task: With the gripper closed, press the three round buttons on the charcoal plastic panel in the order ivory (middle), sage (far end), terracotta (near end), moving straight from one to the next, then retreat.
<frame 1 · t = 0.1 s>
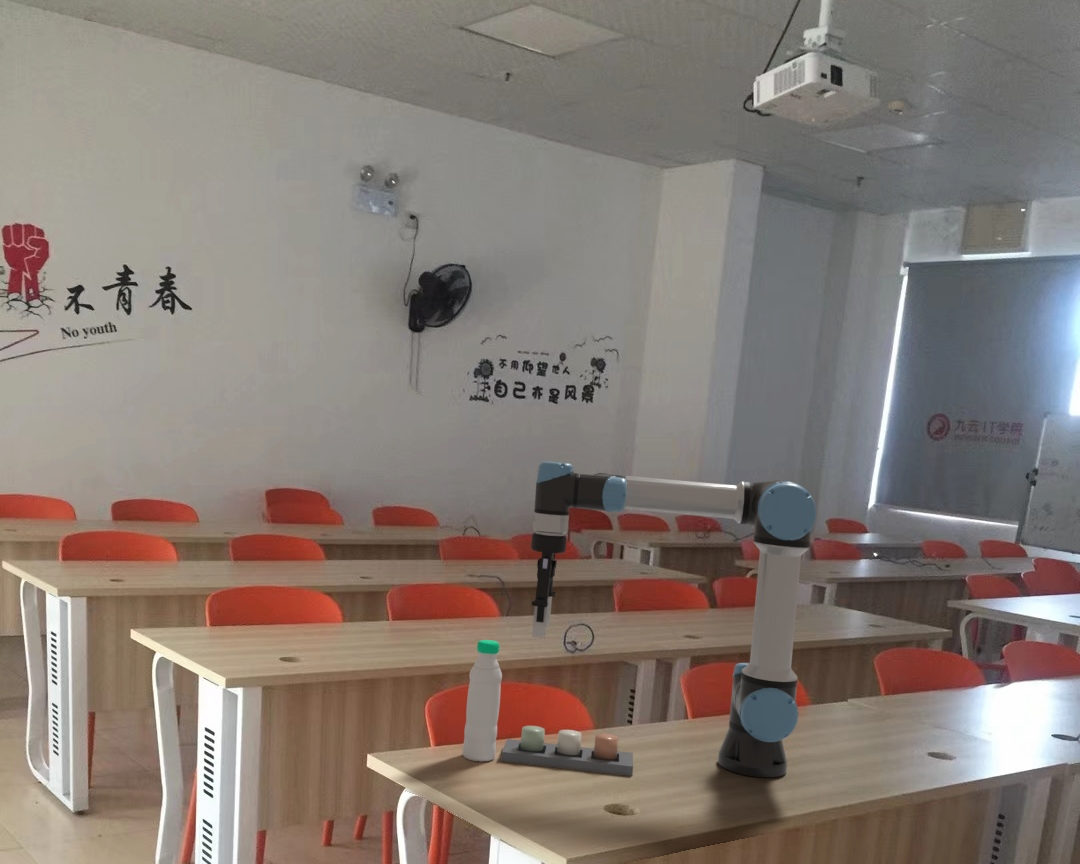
hand: (541, 631, 229), 28 cm above the table, fingers open, 13 cm apart
button ivory: (569, 742, 230), point 4 cm above the table, slide at 0.0 cm
button terracotta: (606, 746, 229), point 4 cm above the table, slide at 0.0 cm
button sage: (532, 738, 231), point 4 cm above the table, slide at 0.0 cm
panel: (567, 761, 230), on the table
water bottle: (478, 758, 227), on the table
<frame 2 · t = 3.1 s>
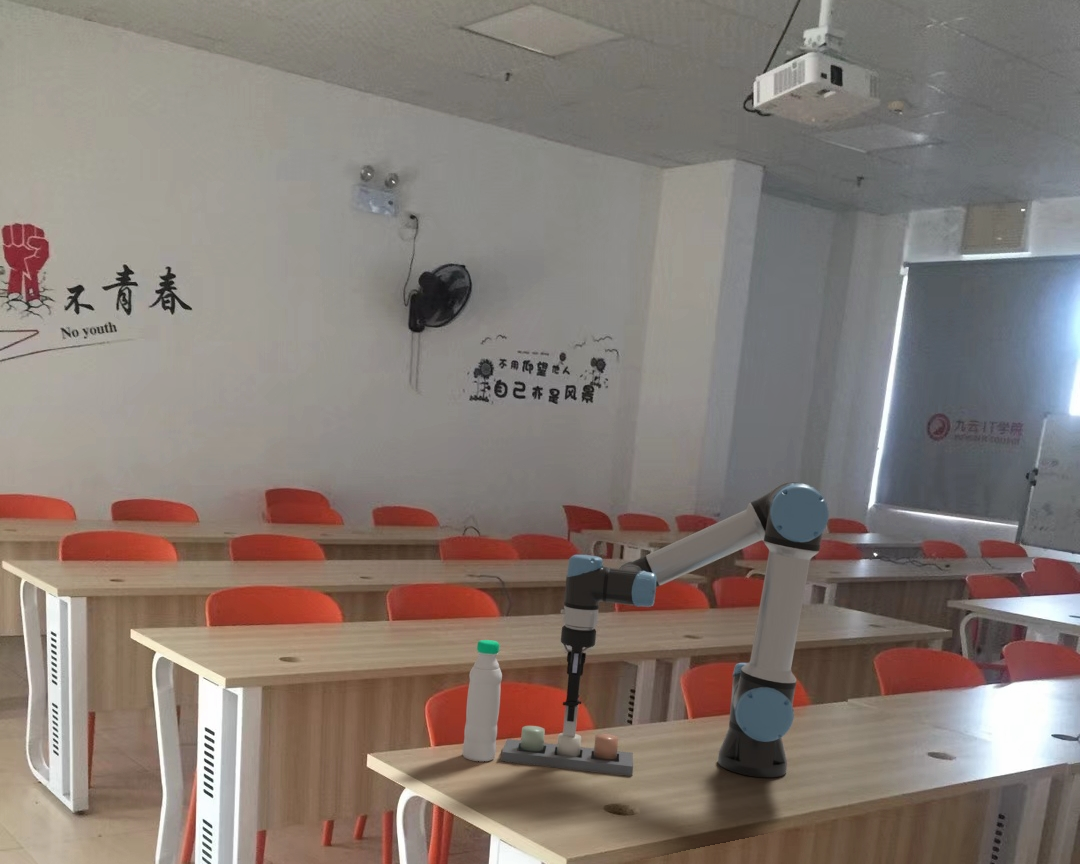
hand: (569, 734, 230), 6 cm above the table, fingers closed
button ivory: (569, 745, 230), point 4 cm above the table, slide at 0.7 cm, touching gripper
everything else where it was.
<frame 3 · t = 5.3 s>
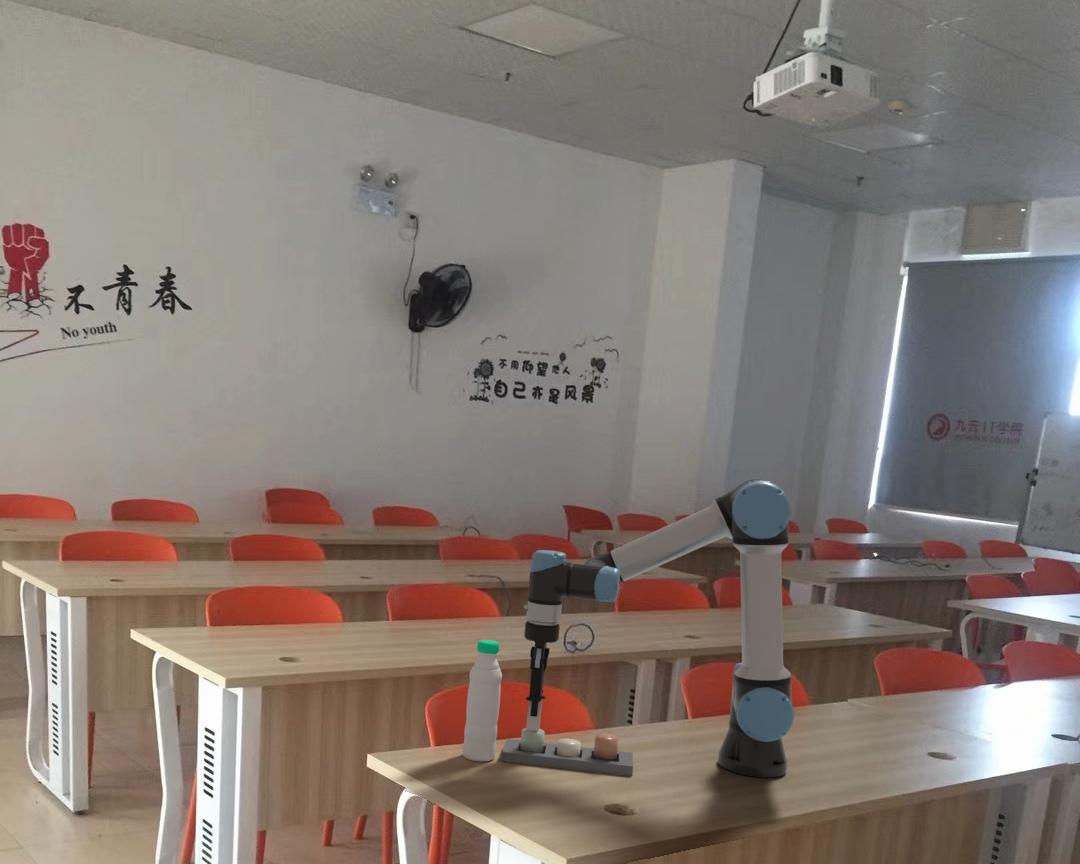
hand: (532, 729, 231), 6 cm above the table, fingers closed
button ivory: (568, 751, 230), point 2 cm above the table, slide at 2.0 cm
button sage: (532, 740, 231), point 4 cm above the table, slide at 0.4 cm, touching gripper
everything else where it was.
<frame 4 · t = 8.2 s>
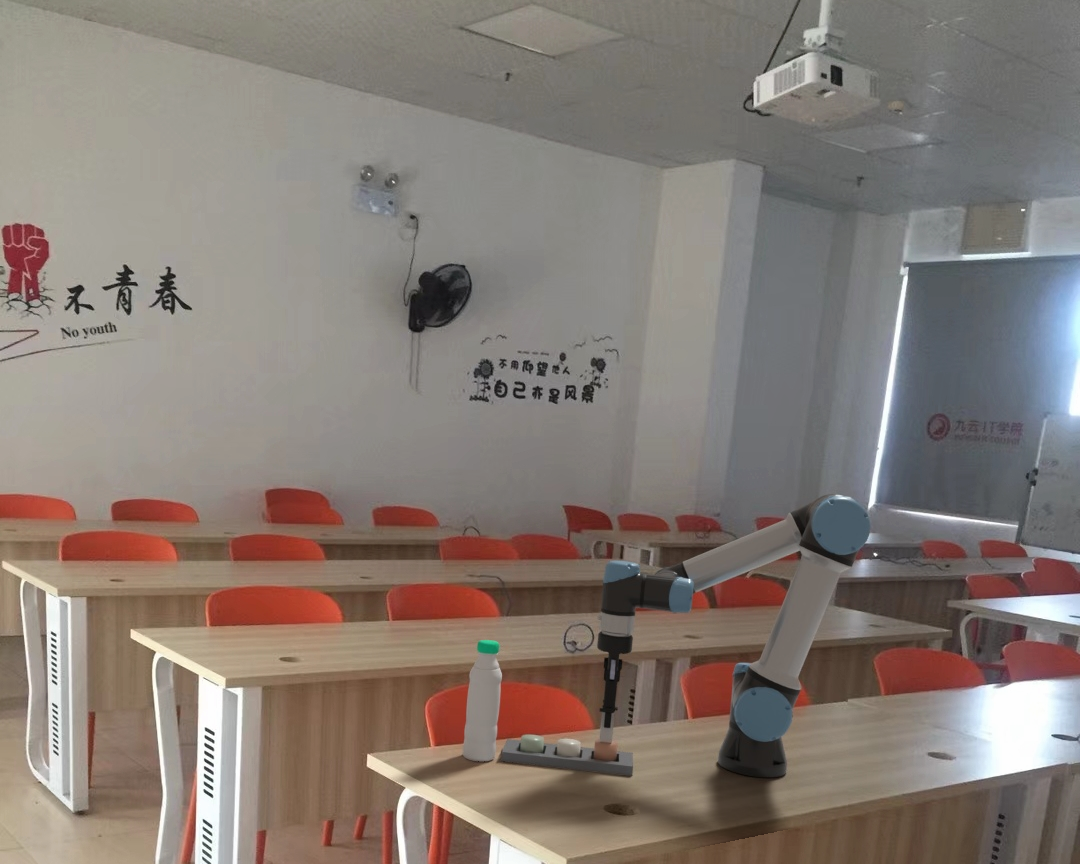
hand: (605, 741, 229), 5 cm above the table, fingers closed
button terracotta: (605, 751, 229), point 3 cm above the table, slide at 1.2 cm, touching gripper
button sage: (531, 747, 231), point 2 cm above the table, slide at 1.9 cm
everything else where it was.
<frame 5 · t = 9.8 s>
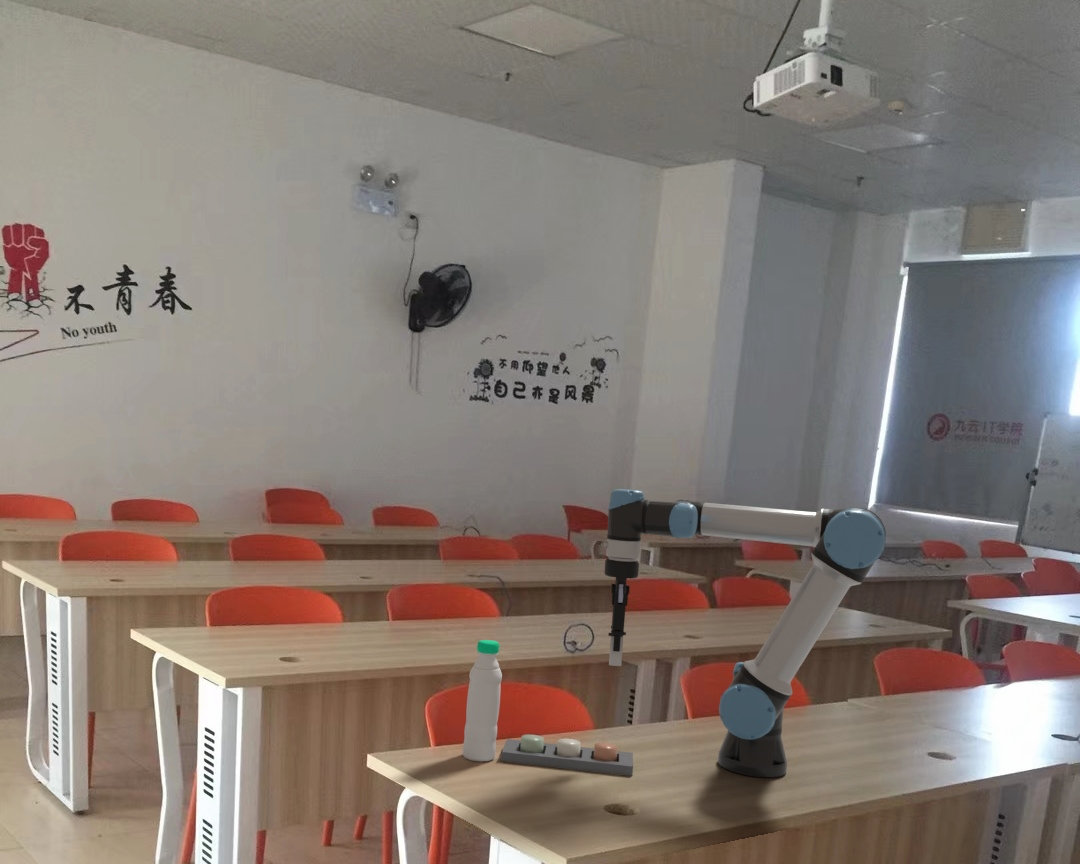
hand: (615, 665, 235), 21 cm above the table, fingers closed
button terracotta: (605, 755, 229), point 2 cm above the table, slide at 2.0 cm
everything else where it was.
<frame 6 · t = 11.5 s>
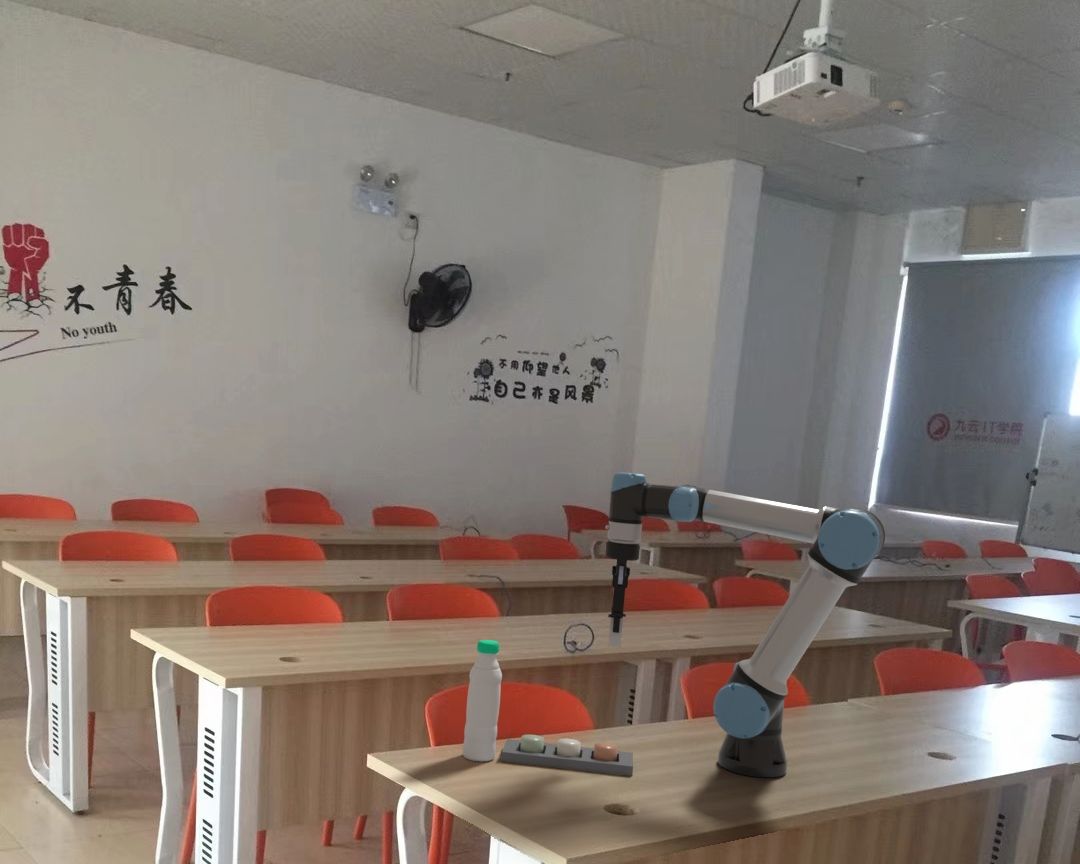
hand: (614, 646, 237), 24 cm above the table, fingers closed
nothing on the table moved.
at the end: button ivory slide at 2.0 cm; button sage slide at 1.9 cm; button terracotta slide at 2.0 cm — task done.
